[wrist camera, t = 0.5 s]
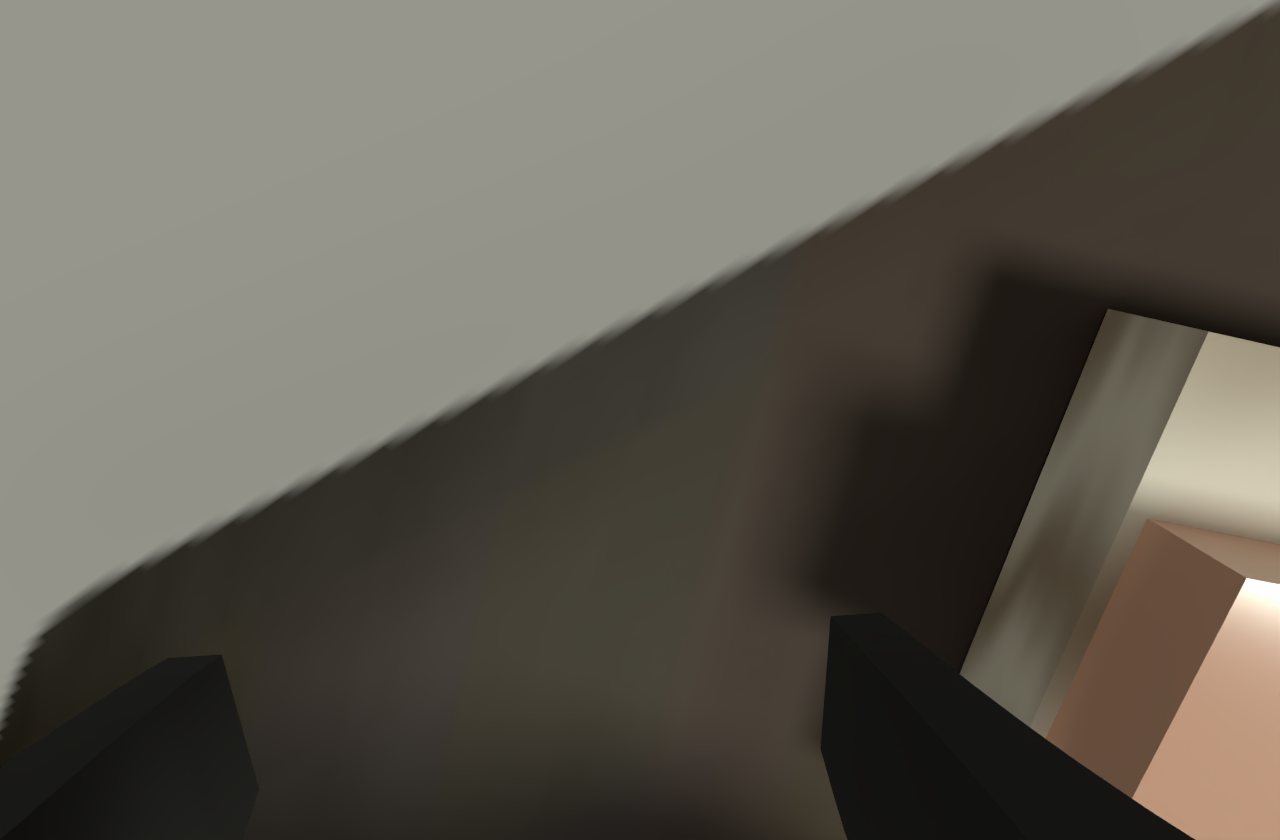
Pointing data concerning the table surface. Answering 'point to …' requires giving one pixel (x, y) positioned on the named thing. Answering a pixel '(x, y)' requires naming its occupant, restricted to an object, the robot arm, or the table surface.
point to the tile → (1186, 684)
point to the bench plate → (1127, 493)
